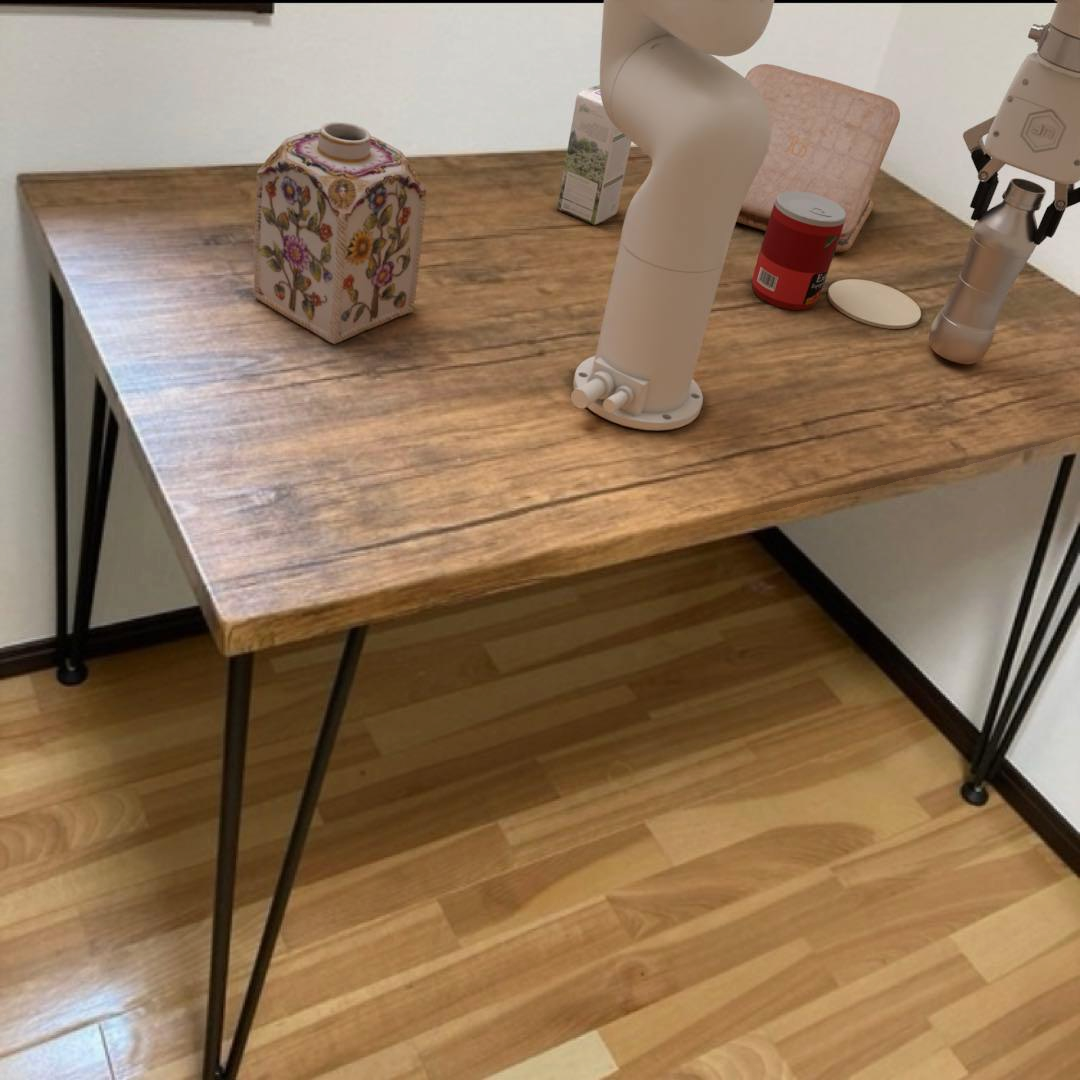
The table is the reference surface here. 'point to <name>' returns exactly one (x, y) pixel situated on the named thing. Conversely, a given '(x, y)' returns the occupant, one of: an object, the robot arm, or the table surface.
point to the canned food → (797, 249)
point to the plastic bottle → (988, 274)
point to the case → (819, 145)
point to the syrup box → (593, 162)
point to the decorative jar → (338, 231)
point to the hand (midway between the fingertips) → (1008, 227)
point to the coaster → (874, 304)
